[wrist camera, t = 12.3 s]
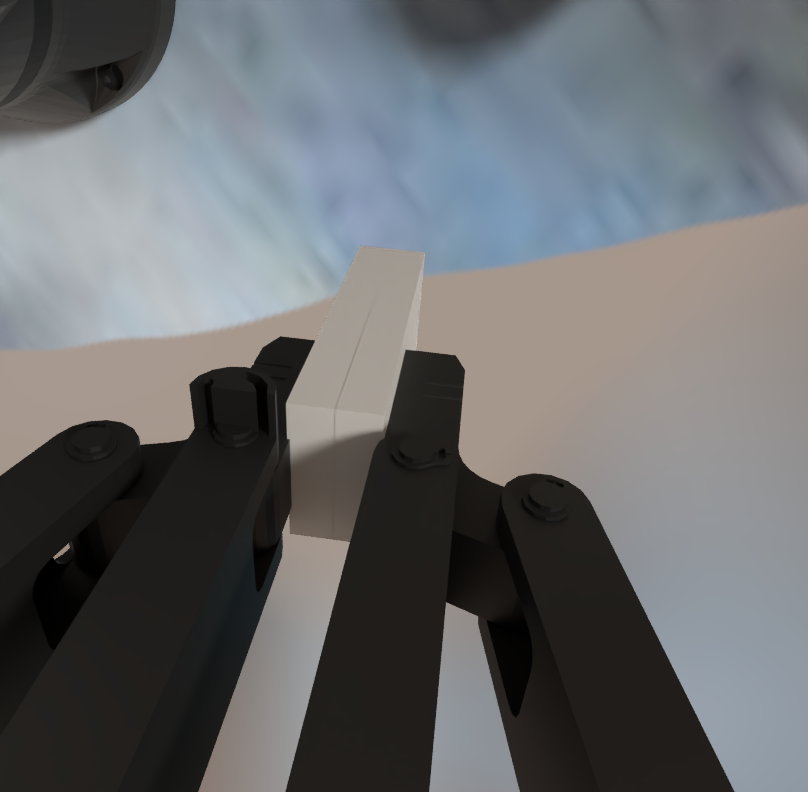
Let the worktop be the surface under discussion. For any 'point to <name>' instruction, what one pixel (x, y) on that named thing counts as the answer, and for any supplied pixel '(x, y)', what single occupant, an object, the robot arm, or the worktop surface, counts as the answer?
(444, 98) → the worktop surface
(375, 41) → the worktop surface
